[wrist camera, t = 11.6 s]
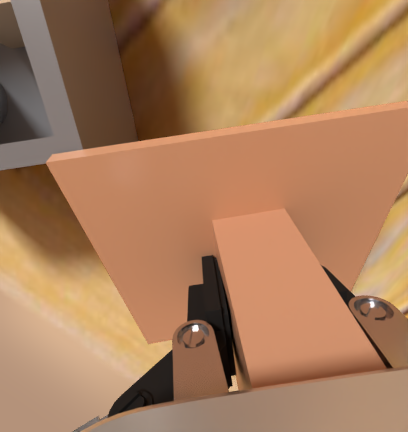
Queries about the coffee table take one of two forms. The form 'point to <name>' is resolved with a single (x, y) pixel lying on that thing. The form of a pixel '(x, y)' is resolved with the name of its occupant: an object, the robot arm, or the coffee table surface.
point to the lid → (248, 230)
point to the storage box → (59, 81)
